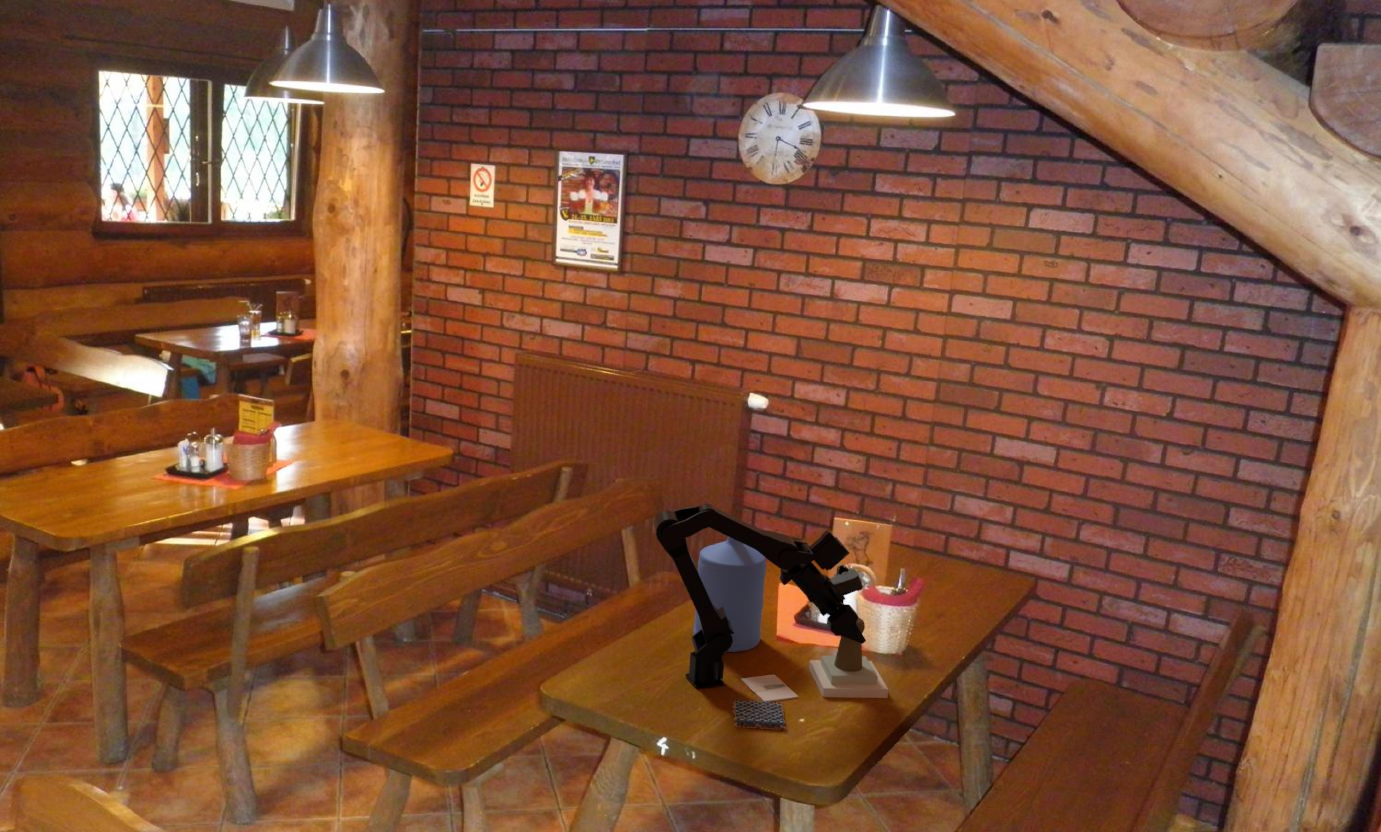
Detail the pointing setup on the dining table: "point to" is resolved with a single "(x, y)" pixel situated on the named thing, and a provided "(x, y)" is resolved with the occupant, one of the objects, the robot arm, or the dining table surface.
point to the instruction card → (769, 688)
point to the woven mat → (759, 715)
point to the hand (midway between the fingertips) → (858, 633)
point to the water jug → (735, 588)
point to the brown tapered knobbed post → (850, 652)
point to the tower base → (847, 688)
